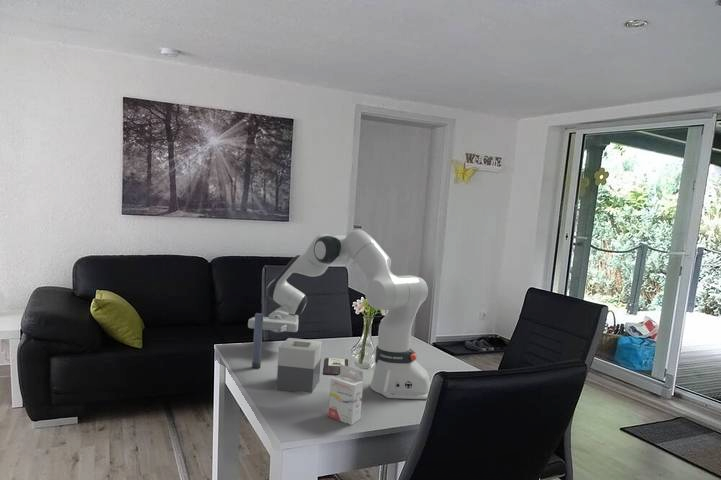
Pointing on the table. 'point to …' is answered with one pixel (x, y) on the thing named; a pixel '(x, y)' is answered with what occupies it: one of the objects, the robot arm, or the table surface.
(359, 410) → the ink cartridge box
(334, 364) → the chocolate bar
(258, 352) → the stylus
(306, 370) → the box
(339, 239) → the robot arm
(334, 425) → the table surface
